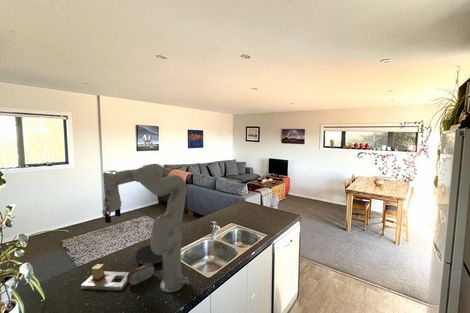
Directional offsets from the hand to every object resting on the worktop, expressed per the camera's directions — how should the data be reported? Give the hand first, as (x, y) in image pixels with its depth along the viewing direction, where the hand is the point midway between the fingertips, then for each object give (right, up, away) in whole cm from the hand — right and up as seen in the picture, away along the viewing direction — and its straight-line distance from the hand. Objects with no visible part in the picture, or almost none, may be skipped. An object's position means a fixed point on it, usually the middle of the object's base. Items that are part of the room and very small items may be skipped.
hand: (113, 219), depth 133 cm
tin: (+21, -32, -9) cm, 39 cm away
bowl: (+19, -30, +12) cm, 37 cm away
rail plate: (+3, -32, -10) cm, 33 cm away
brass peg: (-2, -32, -10) cm, 33 cm away
